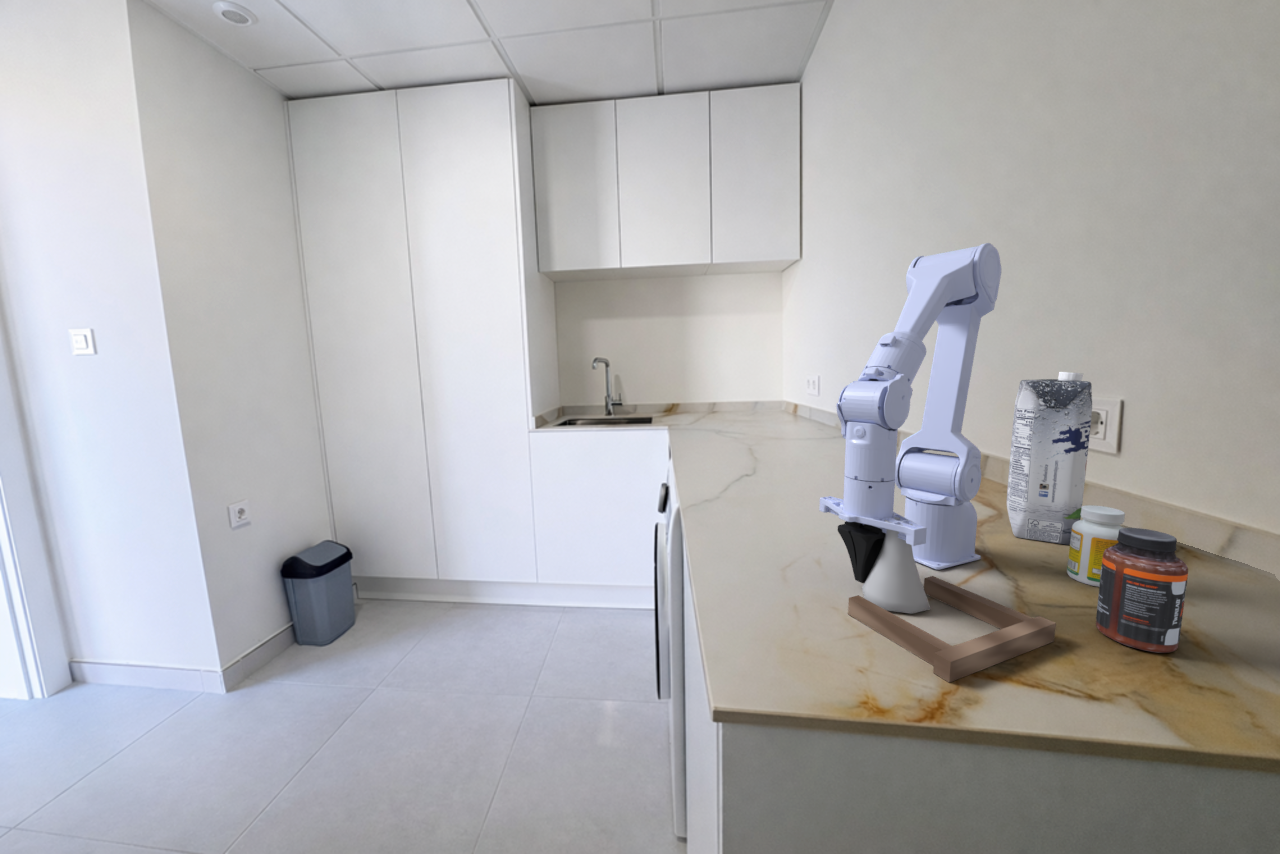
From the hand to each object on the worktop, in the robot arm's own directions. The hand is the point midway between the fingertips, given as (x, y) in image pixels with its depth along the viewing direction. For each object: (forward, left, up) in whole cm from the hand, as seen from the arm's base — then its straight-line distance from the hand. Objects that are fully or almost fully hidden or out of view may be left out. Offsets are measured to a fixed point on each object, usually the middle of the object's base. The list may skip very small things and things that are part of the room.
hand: (864, 580), depth 60 cm
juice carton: (-42, -2, -1) cm, 42 cm away
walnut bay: (0, +10, -1) cm, 10 cm away
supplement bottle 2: (-16, +20, -1) cm, 25 cm away
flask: (-1, +4, -1) cm, 4 cm away
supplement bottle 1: (-29, +11, -1) cm, 31 cm away
